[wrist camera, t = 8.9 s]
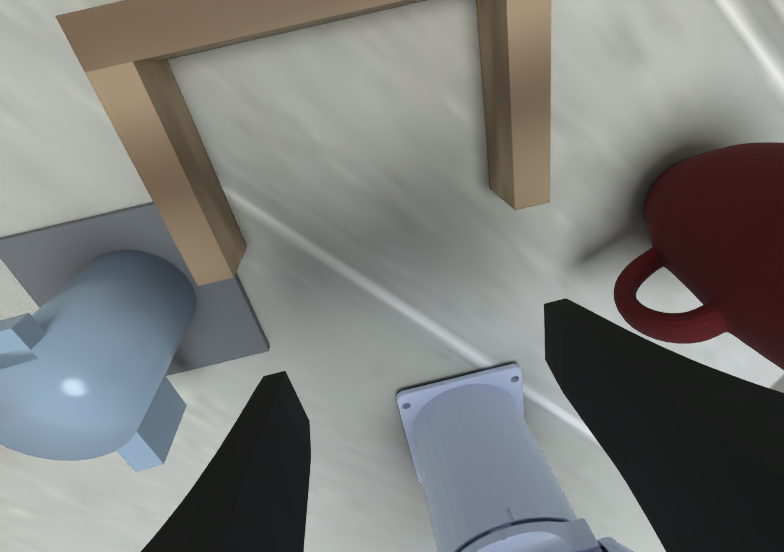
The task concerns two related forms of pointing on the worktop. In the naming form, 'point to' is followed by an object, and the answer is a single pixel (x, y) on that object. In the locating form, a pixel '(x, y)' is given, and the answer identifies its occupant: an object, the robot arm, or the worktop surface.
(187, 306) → the light blue rounded pot
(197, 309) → the mat
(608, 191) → the worktop surface
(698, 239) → the mug
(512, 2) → the holder
